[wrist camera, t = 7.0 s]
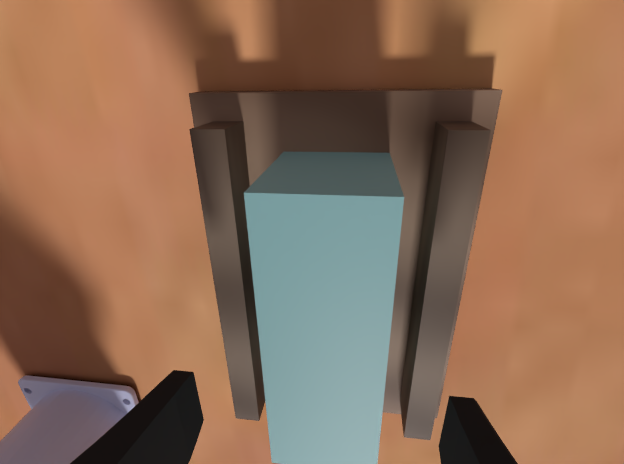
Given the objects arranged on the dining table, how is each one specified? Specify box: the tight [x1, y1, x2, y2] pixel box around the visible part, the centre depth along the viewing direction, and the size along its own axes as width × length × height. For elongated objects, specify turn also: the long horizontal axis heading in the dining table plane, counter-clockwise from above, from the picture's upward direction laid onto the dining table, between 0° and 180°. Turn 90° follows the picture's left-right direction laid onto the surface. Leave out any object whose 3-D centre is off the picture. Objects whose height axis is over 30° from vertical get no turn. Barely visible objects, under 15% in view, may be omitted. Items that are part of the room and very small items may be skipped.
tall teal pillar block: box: [244, 152, 404, 464], centre depth 13 cm, size 12×4×5 cm, turn 1°
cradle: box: [189, 89, 502, 440], centre depth 15 cm, size 16×11×3 cm
